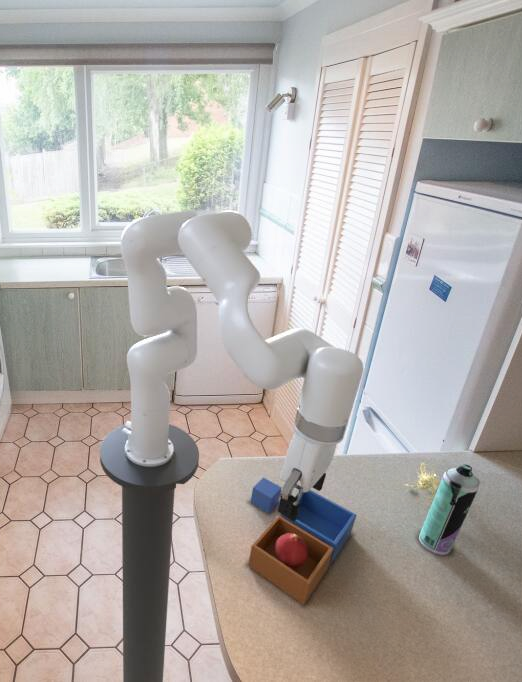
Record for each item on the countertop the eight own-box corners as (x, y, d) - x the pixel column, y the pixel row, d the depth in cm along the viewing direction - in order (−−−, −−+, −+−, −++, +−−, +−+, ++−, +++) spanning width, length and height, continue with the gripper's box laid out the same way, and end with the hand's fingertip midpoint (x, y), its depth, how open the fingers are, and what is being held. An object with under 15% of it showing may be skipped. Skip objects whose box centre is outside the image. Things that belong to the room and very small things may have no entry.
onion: (270, 549, 89) (275, 520, 86) (299, 552, 89) (307, 523, 85) (275, 575, 84) (281, 546, 81) (307, 579, 84) (315, 549, 80)
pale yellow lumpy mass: (465, 517, 101) (488, 483, 99) (434, 520, 93) (457, 484, 91) (417, 483, 110) (436, 452, 108) (384, 484, 102) (404, 450, 100)
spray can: (451, 559, 88) (487, 481, 79) (418, 547, 91) (450, 470, 82) (449, 539, 92) (483, 463, 84) (418, 528, 95) (448, 453, 86)
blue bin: (276, 531, 94) (280, 512, 92) (299, 505, 101) (303, 486, 98) (330, 565, 87) (336, 545, 84) (350, 534, 93) (356, 514, 91)
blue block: (250, 502, 101) (252, 487, 99) (260, 492, 104) (263, 477, 102) (268, 513, 98) (271, 498, 96) (278, 502, 101) (281, 487, 99)
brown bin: (248, 565, 87) (251, 545, 84) (274, 534, 93) (278, 514, 91) (303, 605, 80) (309, 584, 77) (328, 568, 86) (333, 548, 84)
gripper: (321, 392, 80) (302, 465, 88) (271, 435, 69) (255, 515, 77) (365, 410, 75) (341, 486, 83) (319, 460, 64) (297, 542, 72)
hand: (300, 500), depth 80 cm, fingers open, 9 cm apart
